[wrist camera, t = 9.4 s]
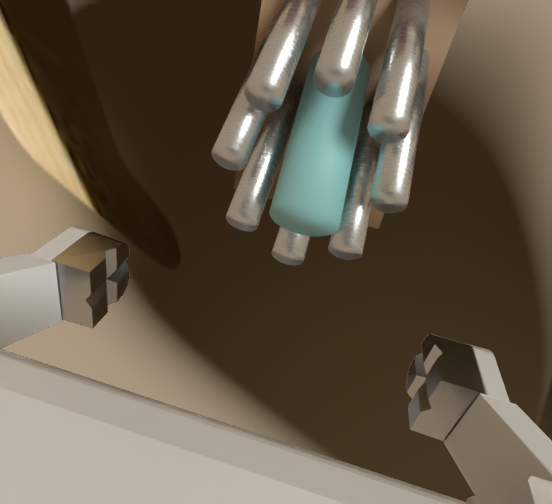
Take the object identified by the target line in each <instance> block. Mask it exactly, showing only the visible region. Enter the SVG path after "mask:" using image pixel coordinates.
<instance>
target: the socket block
mask: <svg viewBox="0 0 552 504" xmlns="http://www.w3.org/2000/svg"><path fill="white" fill-rule="evenodd" d="M397 1H398V0H378V1H377V4H376V8H375V11H374V15H373V19H372V22H371V26H370V30H369V33H368V37H367V40H366V44H365V48H364V51H363V56H364V57H365V58H366V60H367V62H368V64H369V67H370V77H369V82H368V87H367V92H366V97H365V102H364V107H363V110H364V108H365V106H366V105H367V104H368V103H369V102H371V101H373V100H374V97H375V93H376V89H377V85H378V80H379V76H380V72H381V68H382V64H383V59H384V55H385V51H386V47H387V43H388V38H389V34H390V30H391V26H392V22H393V18H394V13H395V9H396V5H397ZM283 2H284V0H262V3H261V9H260V17H259V22H258V29H257V36H256V42H255V49H254V55H253V60H254V58H255V56H256V54H257V51H258V49H259V47H260V45H261V43H262V41H263V38H264V36H265V34H266V32H267V30H268V28H269V25H270V23H271V21H272V20H273V19H274V18H275V17H276V16H277V15H278V13H279V11H280V9H281V7H282V4H283ZM338 2H339V0H322V1H321V3H320V6H319V9H318V11H317V14H316V16H315V19H314V22H313V24H312V27H311V30H310V32H309V35H308V37H307V40H306V43H305V45H304V48H303V50H302V53H301V56H300V58H299V61H298V63H297V66H296V69H295V71H294V74H293V76H292V77H294V78H296V79H298V80H299V81H300V83H301V84H302V86H303V88H304V84H305V80H306V77H307V73H308V70H309V66H310V62H311V60H312V58H313V56H314V55H315V54H316V53H317V52H318V51H319V50H321V49H322V48H323V45H324V42H325V39H326V36H327V33H328V31H329V28H330V25H331V22H332V19H333V16H334V13H335V11H336V8H337V5H338ZM467 2H468V0H432V3H431V9H430V14H429V20H428V26H427V32H426V37H425V43H424V49H426V51H427V52H428V54H429V56H430V67H429V73H428V79H427V86H426V92H425V98H424V105H423V111H422V116H423V113H424V111H425V108H426V106H427V103H428V101H429V98H430V96H431V93H432V91H433V88H434V86H435V83H436V80H437V78H438V75H439V73H440V70H441V68H442V65H443V62H444V60H445V58H446V55H447V53H448V50H449V47H450V45H451V42H452V40H453V37H454V35H455V32H456V30H457V27H458V25H459V22H460V20H461V17H462V14H463V12H464V9H465V7H466V4H467ZM265 117H266V116H265ZM421 118H422V117H421ZM263 122H264V121H263ZM261 127H262V126H261ZM259 132H260V131H259ZM290 135H291V134H290ZM257 137H258V136H257ZM289 139H290V136H289ZM289 139H288V142H289ZM255 142H256V141H255ZM288 142H287V145H286V148H285V151H284V153H283V156H282V159H281V162H280V165H279V168H278V170H277V173H276V176H275V179H274V182H273V185H272V187H271V190H270V193H269V196H268V199H272V200H273V197H274V193H275V190H276V186H277V182H278V179H279V175H280V171H281V168H282V164H283V160H284V157H285V153H286V150H287V146H288ZM253 147H254V146H253ZM251 152H252V151H251ZM249 157H250V156H249ZM247 162H248V161H247ZM245 167H246V166H245ZM244 169H245V168H244ZM244 169H242V170H239V171H236V174H235V181H234V187H233V189H237V187H238V184H239V182H240V179H241V177H242V174H243V172H244ZM384 213H385V212H382V211H379V210H377V209H375V208H374V207H373V206H372V208H371V213H370V218H369V223H368V226H370V227H374V228H377V229H378V228H379V225H380V223H381V220H382V218H383V215H384Z"/></svg>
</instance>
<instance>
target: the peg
mask: <svg viewBox="0 0 552 504" xmlns="http://www.w3.org/2000/svg"><path fill="white" fill-rule="evenodd" d="M321 51H322V49H321V50H319V51H318V52H317V53H316V54H315V55H314V56H313V58H312V60H311V62H310V66H309V70H308V73H307V77H306V80H305V84H304V88H303V91H302V95H301V99H300V102H299V106H298V110H297V113H296V117H295V120H294V124H293V128H292V131H291V135H290V139H289V142H288V146H287V150H286V153H285V157H284V160H283V164H282V168H281V171H280V175H279V179H278V182H277V186H276V190H275V193H274V197H273V200H272V204H271V208H270V216H271V218H272V220H273V221H274V222H275V223H277V224H278V225H279V226H281V227H282V228H284V229H286V230H289V231H291V232H294V233H297V234H301V235H306V236H327V235H331V234H333V233H335V232H336V231H338V229H339V227H340V222H341V217H342V212H343V207H344V202H345V197H346V192H347V187H348V182H349V177H350V172H351V167H352V162H353V157H354V152H355V147H356V142H357V137H358V132H359V127H360V122H361V117H362V112H363V107H364V102H365V97H366V92H367V87H368V82H369V77H370V67H369V64H368V62H367V60H366V58H365V57H364V56H363V55H362V58H361V62H360V66H359V69H358V73H357V76H356V80H355V84H354V87H353V89H352V90H351V92H350V93H348V94H347V95H345V96H343V97H339V98H333V97H328V96H326V95H324V94H322V93H321V92H319V91H318V90H317V88H316V87H315V85H314V82H313V74H314V71H315V68H316V65H317V62H318V59H319V56H320V53H321Z"/></svg>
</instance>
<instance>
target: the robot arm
mask: <svg viewBox="0 0 552 504" xmlns="http://www.w3.org/2000/svg"><path fill="white" fill-rule="evenodd" d="M129 256H130V254H129V245H128V244H127V243H126V242H123V241H120V240H117V239H114V238H111V237H108V236H105V235H102V234H99V233H96V232H91V231H89V230H86V229H82V228H79V227H70V228H68V229H67V230H66V231H64V232H63V233H61V234H60V235H58V236H57V237H55V238H54V239H53V240H51V241H50V242H48V243H47V244H45V245H44V246H42V247H41V248H40V249H38V250H37V251H35V252H34V253H32V254H31V255H30V254H26V253H23V254H19V255H14V256H9V257H4V258H0V504H552V441H551V440H550V439H549V438H548V437H547V436H546V435H545V434H544V433H543V432H542V431H541V429H540V428H539V427H538V426H537V425H536V424H535V423H534V422H533V421H532V420H531V419H530V418H529V417H528V416H527V415H526V414H525V413H524V412H523V411H522V410H521V409H520V408H519V407H518V406H517V405H516V404H513V403H510V401H509V398H508V395H507V392H506V390H505V386H504V384H503V381H502V378H501V375H500V372H499V369H498V366H497V363H496V360H495V357H494V355H493V353H492V352H491V351H490V350H487V349H484V348H480V347H476V346H472V345H466V344H463V343H460V342H456V341H453V340H449V339H446V338H442V337H439V336H436V335H432V334H429V335H428V336H427V337H426V338H425V339H424V341H423V343H422V354H420V355H417V356H415V357H414V359H413V361H412V363H411V365H410V368H409V372H408V375H407V393H408V394H409V395H410V397H411V398H412V401H411V402H410V404H409V406H408V412H409V424H410V430H413V431H416V432H419V433H422V434H425V435H428V436H431V437H433V438H436V439H439V440H442V441H445V442H444V444H445V446H446V447H447V449H448V451H449V452H450V454H451V456H452V457H453V459H454V461H455V462H456V464H457V466H458V468H459V469H460V471H461V472H462V474H463V476H464V477H465V479H466V481H467V483H468V484H469V486H470V488H471V489H472V491H473V493H474V494H475V496H471V497H469V498H467V500H466V502H464V501H460V500H458V499H455V498H451V497H449V496H445V495H442V494H439V493H436V492H433V491H430V490H427V489H424V488H421V487H418V486H415V485H412V484H409V483H406V482H403V481H400V480H397V479H394V478H390V477H388V476H384V475H381V474H378V473H375V472H372V471H369V470H366V469H363V468H360V467H357V466H354V465H351V464H348V463H345V462H342V461H339V460H336V459H333V458H330V457H327V456H324V455H321V454H317V453H315V452H312V451H309V450H306V449H303V448H300V447H297V446H293V445H291V444H288V443H284V442H281V441H279V440H275V439H272V438H269V437H266V436H263V435H260V434H257V433H254V432H251V431H248V430H245V429H242V428H239V427H236V426H233V425H230V424H227V423H224V422H221V421H218V420H215V419H212V418H209V417H206V416H202V415H199V414H196V413H193V412H190V411H187V410H184V409H181V408H178V407H175V406H172V405H169V404H166V403H163V402H160V401H157V400H154V399H151V398H148V397H145V396H142V395H139V394H136V393H132V392H130V391H126V390H124V389H120V388H117V387H114V386H111V385H108V384H105V383H102V382H99V381H96V380H93V379H90V378H87V377H84V376H81V375H78V374H75V373H72V372H69V371H66V370H63V369H59V368H56V367H53V366H50V365H48V364H44V363H42V362H38V361H35V360H32V359H29V358H26V357H23V356H20V355H17V354H14V353H11V352H8V351H5V350H2V349H1V348H3V347H5V346H8V345H10V344H12V343H14V342H16V341H19V340H21V339H23V338H25V337H27V336H30V335H32V334H34V333H36V332H39V331H41V330H43V329H45V328H47V327H50V326H52V325H54V324H56V323H59V322H61V321H62V319H63V320H66V321H69V322H73V323H76V324H80V325H84V326H87V327H90V328H94V327H95V325H96V324H97V323H98V322H99V321H100V320H101V319H102V318H103V317H104V316H105V315H106V313H107V312H108V305H109V304H112V303H115V302H117V301H118V300H119V299H120V297H121V296H122V295H123V294H124V291H125V290H126V287H127V285H128V281H129V271H130V270H129V268H128V267H127V265H126V263H125V262H124V261H125V260H126V259H127V258H128V257H129Z"/></svg>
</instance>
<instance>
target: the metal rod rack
mask: <svg viewBox="0 0 552 504" xmlns="http://www.w3.org/2000/svg"><path fill="white" fill-rule="evenodd" d="M321 1H322V0H284V2H283V4H282V7H281V9H280V11H279V13H278V15H277V16H276V17H275V18H274V19H273V20H272V21H271V23H270V25H269V28H268V30H267V32H266V34H265V36H264V38H263V41H262V43H261V45H260V47H259V49H258V51H257V54H256V56H255V58H254V60H253V62H252V64H251V67H250V69H249V71H248V73H247V75H246V77H245V80H244V82H243V84H242V86H241V88H240V91H239V93H238V95H237V97H236V100H235V101H234V104H233V106H232V108H231V110H230V112H229V114H228V117H227V119H226V121H225V123H224V125H223V127H222V130H221V132H220V134H219V136H218V139H217V140H216V143H215V145H214V147H213V149H212V152H211V154H212V157H213V159H214V160H215V162H216V163H217V164H218V165H220V166H222V167H223V168H225V169H228V170H232V171H239V170H242V169H244V168H245V169H244V172H243V174H242V177H241V179H240V182H239V184H238V187H237V189H236V192H235V194H234V197H233V199H232V202H231V204H230V207H229V209H228V212H227V214H226V220H227V222H228V223H229V224H230V225H232V226H233V227H235V228H237V229H240V230H243V231H254V230H256V229H257V227H258V224H259V221H260V218H261V216H262V213H263V210H264V207H265V204H266V201H267V199H268V196H269V193H270V190H271V187H272V185H273V182H274V179H275V176H276V173H277V170H278V168H279V165H280V162H281V159H282V156H283V153H284V151H285V148H286V145H287V142H288V139H289V136H290V134H291V131H292V128H293V124H294V120H295V117H296V113H297V110H298V106H299V102H300V99H301V95H302V91H303V86H302V84H301V83H300V81H299V80H298V79H296V78H294V77H292V76H293V74H294V71H295V69H296V66H297V63H298V61H299V58H300V56H301V53H302V50H303V48H304V45H305V43H306V40H307V37H308V35H309V32H310V30H311V27H312V24H313V22H314V19H315V16H316V14H317V11H318V9H319V6H320V3H321ZM377 1H378V0H339V2H338V5H337V8H336V11H335V13H334V16H333V19H332V22H331V25H330V28H329V31H328V33H327V36H326V39H325V42H324V45H323V48H322V51H321V53H320V56H319V59H318V62H317V65H316V68H315V71H314V74H313V82H314V85H315V87H316V88H317V90H318V91H319V92H321V93H322V94H324V95H326V96H328V97H333V98H339V97H343V96H345V95H347V94H348V93H350V92H351V90H352V89H353V87H354V84H355V80H356V76H357V73H358V69H359V66H360V62H361V58H362V55H363V51H364V48H365V44H366V40H367V37H368V33H369V30H370V26H371V22H372V19H373V15H374V11H375V8H376V4H377ZM431 3H432V0H398V1H397V5H396V9H395V13H394V18H393V22H392V26H391V30H390V34H389V38H388V43H387V47H386V51H385V55H384V59H383V64H382V68H381V72H380V76H379V80H378V85H377V89H376V93H375V97H374V100H373V101H371V102H369V103H368V104H367V105H366V106H365V108H364V110H363V112H362V117H361V122H360V127H359V132H358V137H357V142H356V147H355V152H354V157H353V162H352V167H351V172H350V177H349V182H348V187H347V192H346V197H345V202H344V207H343V212H342V217H341V222H340V227H339V229H338V231H336V232H335V233H333V234H332V235H331V239H330V243H329V247H328V249H329V251H330V252H331V253H332V254H333V255H335V256H337V257H339V258H342V259H351V260H352V259H357V258H359V257H361V256H362V252H363V247H364V242H365V237H366V233H367V228H368V223H369V218H370V213H371V208H372V206H373V207H374V208H375V209H377V210H379V211H382V212H387V213H396V212H400V211H402V210H404V209H405V208H406V207H407V205H408V199H409V193H410V187H411V180H412V174H413V168H414V161H415V155H416V148H417V143H418V136H419V129H420V124H421V117H422V111H423V105H424V98H425V92H426V86H427V79H428V73H429V67H430V56H429V54H428V52H427V51H426V49H424V43H425V37H426V32H427V26H428V20H429V14H430V9H431ZM265 116H266V117H265ZM263 121H264V122H263ZM261 126H262V127H261ZM259 131H260V132H259ZM257 136H258V137H257ZM255 141H256V142H255ZM253 146H254V147H253ZM251 151H252V152H251ZM249 156H250V157H249ZM247 161H248V162H247ZM245 166H246V167H245ZM309 239H310V236H306V235H301V234H297V233H294V232H291V231H289V230H286V229H284V228H282V227H281V226H280V229H279V232H278V235H277V238H276V241H275V244H274V247H273V250H272V255H273V257H274V258H275V259H277V260H278V261H280V262H282V263H285V264H289V265H299V264H302V263H303V260H304V257H305V253H306V250H307V246H308V242H309Z"/></svg>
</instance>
